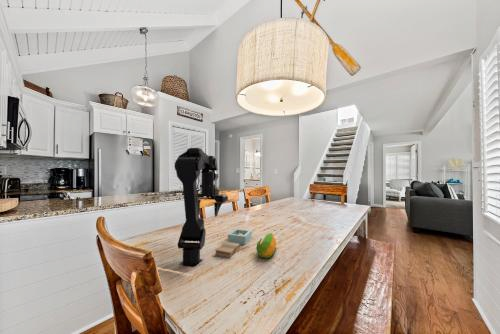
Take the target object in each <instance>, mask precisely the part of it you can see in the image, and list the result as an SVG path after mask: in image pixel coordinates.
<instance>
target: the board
mask: <svg viewBox="0 0 500 334" xmlns="http://www.w3.org/2000/svg"><path fill="white" fill-rule="evenodd" d="M240 247H241V244H238V243H231V242H228V241H225V242H224V243H223V244H222V245H220V246H219V247H218V248H216V249H215V256H217V257H224V258H232V257H233V256H234V255H235V254H236V252H237V251H238V250H240Z"/></svg>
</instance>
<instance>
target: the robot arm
mask: <svg viewBox="0 0 500 334" xmlns="http://www.w3.org/2000/svg"><path fill="white" fill-rule="evenodd" d="M174 169H175V172H176V177H177V178H178V180H179V182H180V183H182V191H183V192H182V193H183V202H184V213H185V214H184V215H185V222H184V224H183V226H181V227H182V228H181V232H180V235H179V238H178V242H177V248H178V249H179V250H180V249H182V261H181V262H180V263H179V266H184V267H190V268H196V267H197V266H199V264H200V263H202V262H203V261H204V259H203V258H201V250H202V249H203V247H204V246H205V243H206V236H207V235H206V234H207V231H206V230H207V229H206V228H205V221H204V219H203V218H200V216H199V215H200V212H201V207H200V206H201V205H200V204H201V201H202V200H211V201H212V200H214V201H215V202H214V204H213V205H214V206H213V208H214V216H215V218H217V217H218V214H219V212H220V209H221V206H222V205H223V204H224V203H226V202H227V201H228V200H229V198H228V194H219V193H220V189H219V188H216V184H215V183H214V182H216V181H217V180H218V179H219V173H218V161H217V158H216V157H215V156H214V155H209V154H207V153H206V152H205V151H203V149H202V148H201V147H189V148H187V150H186V151H185V152H183V153H181V154H179V155H178V157H177V158H176V160H175V162H174ZM200 175H201V179H200V180H201V181H200V182H201V183H200V185H199V188H200V189H201V190H200V191H201V193H200V192H198V188H197V187H198V186H197V180H198V179H199V176H200ZM228 202H229V201H228Z"/></svg>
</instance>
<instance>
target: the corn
mask: <svg viewBox="0 0 500 334" xmlns="http://www.w3.org/2000/svg"><path fill="white" fill-rule="evenodd" d="M262 239H263V240H262ZM276 245H277V239H276V236H275V235H274V234H273V233H272V232H270V233H267V234H266V235H265V236H264V237H262V238H260V239H259V240H258V242H257V243H256V246H255V247H256V248H255V249H256V251H257V254H258V256H259V257H260V259H261V258H264V259H269V258H271V257H273V255H275V253H276V251H277V247H276Z"/></svg>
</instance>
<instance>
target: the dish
mask: <svg viewBox="0 0 500 334" xmlns="http://www.w3.org/2000/svg"><path fill="white" fill-rule="evenodd" d="M252 232H253V231H252V230H251V229H250V230H249V229H240V228H235V229H233V230H232V231H231V232H228V234H227V242H231V243H238V244H240V245H244V246H246V245H247V244H248V243H249V241H250V240H252V236H253V235H252ZM239 233H241V234H243V235H238V234H239Z"/></svg>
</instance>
